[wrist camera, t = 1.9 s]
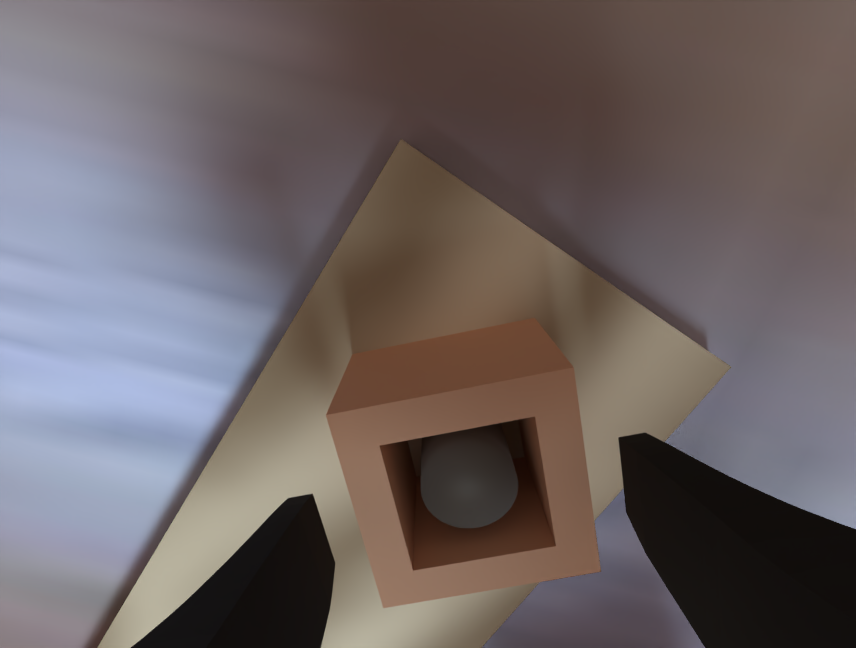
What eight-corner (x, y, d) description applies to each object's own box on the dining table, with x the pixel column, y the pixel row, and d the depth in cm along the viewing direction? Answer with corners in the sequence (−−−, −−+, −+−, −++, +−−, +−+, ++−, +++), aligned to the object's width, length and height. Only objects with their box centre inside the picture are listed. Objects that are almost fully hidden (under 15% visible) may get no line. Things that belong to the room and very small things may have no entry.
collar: (534, 317, 14) (573, 367, 10) (559, 477, 16) (600, 571, 12) (352, 353, 15) (325, 415, 11) (393, 507, 16) (383, 608, 12)
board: (709, 353, 16) (824, 423, 11) (300, 824, 23) (267, 989, 18) (403, 142, 14) (390, 123, 9) (54, 723, 21) (-52, 878, 16)
